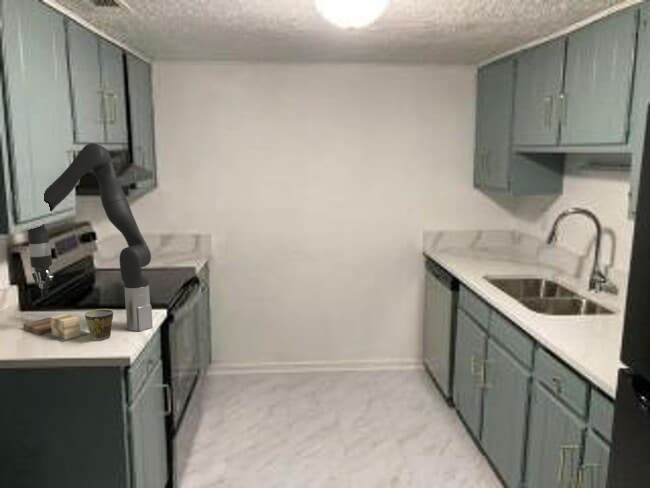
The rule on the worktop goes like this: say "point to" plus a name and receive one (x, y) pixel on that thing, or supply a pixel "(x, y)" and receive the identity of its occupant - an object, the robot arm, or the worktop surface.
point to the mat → (65, 339)
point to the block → (65, 326)
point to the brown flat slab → (39, 326)
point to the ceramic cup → (99, 323)
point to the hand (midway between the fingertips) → (45, 297)
